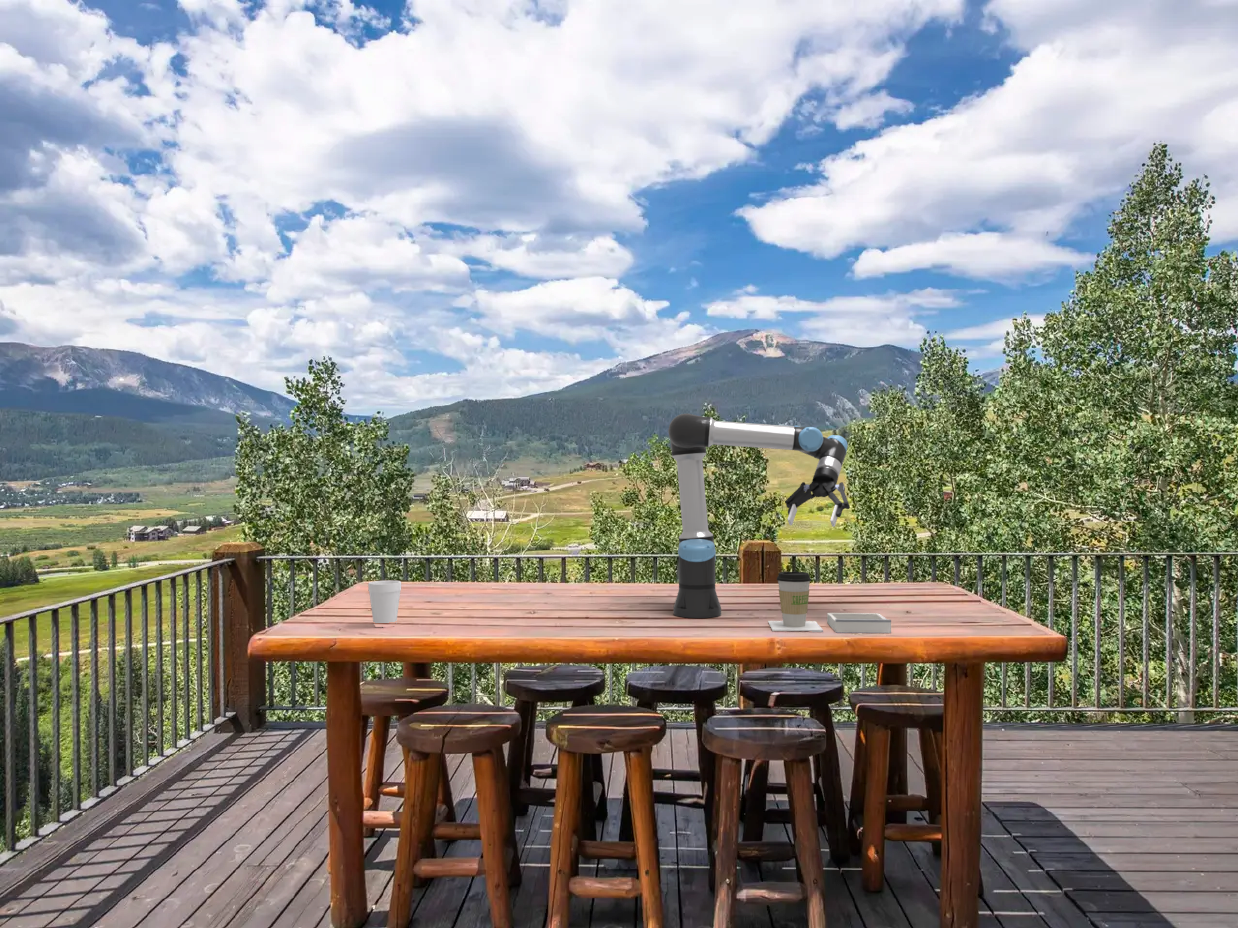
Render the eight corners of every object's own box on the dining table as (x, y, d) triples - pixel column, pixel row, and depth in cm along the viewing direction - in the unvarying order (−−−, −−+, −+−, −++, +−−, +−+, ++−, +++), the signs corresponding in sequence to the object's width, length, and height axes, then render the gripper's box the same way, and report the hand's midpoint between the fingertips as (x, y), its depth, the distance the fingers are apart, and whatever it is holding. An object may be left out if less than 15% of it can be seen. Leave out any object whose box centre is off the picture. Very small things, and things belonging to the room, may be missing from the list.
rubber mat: (772, 631, 228) (772, 629, 229) (768, 622, 242) (768, 620, 242) (823, 632, 227) (823, 629, 227) (815, 623, 241) (815, 621, 241)
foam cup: (374, 630, 235) (374, 585, 236) (363, 625, 243) (363, 582, 243) (406, 626, 241) (405, 582, 241) (394, 622, 248) (394, 579, 249)
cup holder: (836, 632, 226) (836, 619, 226) (827, 622, 241) (827, 610, 241) (891, 633, 225) (891, 620, 225) (878, 623, 240) (878, 611, 240)
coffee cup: (812, 628, 229) (811, 575, 230) (776, 627, 231) (776, 574, 232) (811, 622, 239) (810, 571, 239) (777, 621, 241) (776, 571, 241)
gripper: (868, 482, 257) (853, 532, 244) (793, 482, 270) (775, 529, 258) (862, 465, 252) (848, 515, 239) (787, 466, 266) (769, 513, 253)
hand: (810, 523), depth 248 cm, fingers open, 13 cm apart
